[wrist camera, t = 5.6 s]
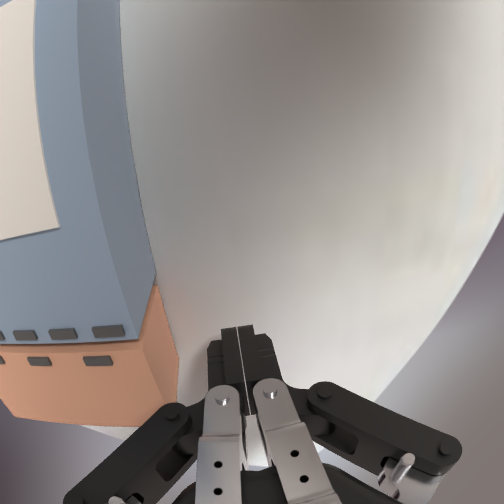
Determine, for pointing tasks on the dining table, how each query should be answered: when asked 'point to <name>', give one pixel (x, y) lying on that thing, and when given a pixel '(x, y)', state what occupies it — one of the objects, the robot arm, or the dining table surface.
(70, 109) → the block
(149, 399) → the tan rectangular block
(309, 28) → the dining table surface
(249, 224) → the dining table surface
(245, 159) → the dining table surface
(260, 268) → the dining table surface
